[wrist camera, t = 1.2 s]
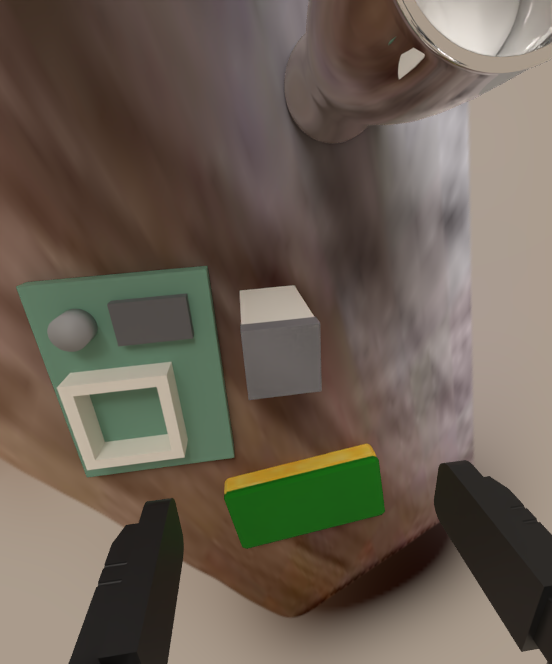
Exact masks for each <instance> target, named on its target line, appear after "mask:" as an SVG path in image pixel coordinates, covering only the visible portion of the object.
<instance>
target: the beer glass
mask: <svg viewBox="0 0 552 664" xmlns="http://www.w3.org/2000/svg"><path fill="white" fill-rule="evenodd" d="M551 59H552V0H309V1H308V8H307V19H306V33H305V34H304V35H303V36H302V37H301V38H300V39H299V41H298V42H297V44H296V45H295V47H294V49H293V51H292V53H291V55H290V57H289V60H288V63H287V66H286V71H285V79H284V91H285V98H286V103H287V106H288V109H289V112H290V114H291V116H292V118H293V120H294V121H295V123H296V124H297V126H298V127H299V128H300V129H301V130H302V131H303V132H304V133H305V134H306V135H308V136H309V137H311V138H313V139H315V140H317V141H320V142H323V143H330V144H335V143H342V142H345V141H348V140H350V139H352V138H354V137H356V136H357V135H359V134H360V133H361V132H363V131H364V130H365V129H366V128H367V127H368V126H369V125H393V124H402V123H409V122H414V121H418V120H421V119H424V118H427V117H430V116H433V115H437V114H440V113H442V112H445V111H447V110H450V109H452V108H454V107H456V106H459V105H461V104H463V103H465V102H468V101H470V100H472V99H474V98H476V97H478V96H480V95H482V94H483V93H485V92H487V91H489V90H491V89H493V88H495V87H497V86H499V85H501V84H503V83H504V82H506V81H508V80H510V79H512V78H513V77H515V76H517V75H519V74H521V73H522V72H524V71H526V70H528V69H530V68H533V67H535V66H538V65H540V64H543V63H545V62H547V61H549V60H551Z"/></svg>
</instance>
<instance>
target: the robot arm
mask: <svg viewBox="0 0 552 664" xmlns="http://www.w3.org/2000/svg"><path fill="white" fill-rule="evenodd" d="M434 506H435V511H436V514H437V517H438V519H439V521H440V523H441V524H442V526H443V527H444V529H445V531H446V532H447V534H448V536H449V537H450V539H451V540H452V542H453V543H454V545H455V547H456V548H457V550H458V552H459V553H460V555H461V556H462V558H463V559H464V561H465V563H466V564H467V566H468V567H469V569H470V571H471V572H472V574H473V575H474V577H475V579H476V580H477V582H478V583H479V585H480V587H481V588H482V590H483V591H484V593H485V594H486V596H487V598H488V599H489V601H490V602H491V604H492V606H493V607H494V609H495V610H496V612H497V613H498V615H499V617H500V618H501V620H502V622H503V623H504V625H505V626H506V628H507V629H508V631H509V633H510V634H511V636H512V637H513V639H514V641H515V642H516V644H517V645H518V647H519V649H520V650H521V651H522V652H523V651H528V650H534V649H540V651H541V652H542V654H543V655H544V657H545V658H546V660H547V664H552V535H551V534H550V533H549V531H547V529H546V528H545V527H544V526H543V525H542V524H541V523H540V522H537V519H536V518H535V517H534V516H533V514H532V513H531V512H530V511H529V510H528V509H527V508H526V509H525V508H524V505H523V504H522V503H521V502H520V500H519V499H518V498H517V497H516V496H515V495H514V494H513V493H512V492H511V491H510V490H509V489H508V488H506V487H505V486H503V485H502V484H500V483H499V482H497V481H496V480H494V479H493V478H491V477H490V476H488V477H483V476H482V475H481V474H480V473H479V472H478V470H477V469H476V468H475V467H474V466H473V465H472V464H471V463H470V462H469V461H466V460H464V461H456V462H449V463H442V464H440V466H439V469H438V476H437V483H436V490H435V496H434ZM183 551H184V544H183V534H182V529H181V525H180V521H179V516H178V512H177V508H176V503H175V500H174V499H173V498H170V499H162V500H155V501H147V502H146V503H145V505H144V507H143V510H142V514H141V517H140V520H139V523H137V524H130V525H126V526H125V527H124V528H123V530H122V531H121V533H120V534H119V535H118V537H117V538H116V539H115V541H114V542H113V543H112V545H111V548H110V551H109V553H108V556H107V559H106V562H105V567H104V569H103V570H102V573H101V576H100V578H99V581H98V587H96V590H95V592H94V595H93V598H92V601H91V603H90V606H89V609H88V612H87V614H86V617H85V620H84V623H83V626H82V628H81V631H80V634H79V637H78V639H77V642H76V645H75V648H74V651H73V654H72V656H71V659H70V661H69V664H167V663H168V656H169V649H170V642H171V636H172V629H173V622H174V615H175V609H176V602H177V595H178V589H179V581H180V574H181V568H182V562H183Z"/></svg>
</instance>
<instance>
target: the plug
mask: <svg viewBox="0 0 552 664" xmlns="http://www.w3.org/2000/svg"><path fill="white" fill-rule="evenodd" d="M240 309H241V325H240V328H241V339H242V347H243V356H244V364H245V373H246V381H247V390H248V398H249V400H253V399H261V398H270V397H278V396H286V395H294V394H302V393H310V392H319V391H322V390H321V342H320V322H319V321H318V319H317V318H316V317H314V315H313V314H312V312H311V311H310V309H309V308H308V306H307V305H306V303H305V301H304V300H303V298H302V297H301V295H300V294H299V292H298V291H297V289H296V287H295V286H294V285H293V286H282V287H272V288H262V289H252V290H241V291H240Z"/></svg>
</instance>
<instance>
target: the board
mask: <svg viewBox="0 0 552 664" xmlns="http://www.w3.org/2000/svg"><path fill="white" fill-rule="evenodd" d="M16 288H17V291H18V293H19V296H20V299H21V302H22V304H23V307H24V310H25V312H26V315H27V318H28V320H29V323H30V326H31V328H32V331H33V334H34V336H35V339H36V342H37V345H38V347H39V350H40V353H41V355H42V358H43V361H44V363H45V366H46V369H47V371H48V374H49V377H50V379H51V382H52V385H53V388H54V390H55V393H56V396H57V398H58V401H59V404H60V406H61V409H62V412H63V414H64V417H65V420H66V422H67V425H68V428H69V431H70V433H71V436H72V439H73V441H74V444H75V447H76V449H77V452H78V455H79V457H80V460H81V463H82V466H83V468H84V471H85V474H86V476H87V477H94V476H101V475H108V474H116V473H123V472H131V471H138V470H146V469H153V468H161V467H168V466H176V465H183V464H191V463H198V462H206V461H213V460H221V459H228V458H234V443H233V436H232V429H231V422H230V415H229V409H228V402H227V395H226V388H225V381H224V374H223V368H222V361H221V354H220V347H219V340H218V334H217V327H216V320H215V313H214V306H213V299H212V293H211V286H210V279H209V272H208V266H199V267H188V268H177V269H166V270H155V271H144V272H133V273H122V274H111V275H100V276H89V277H78V278H67V279H56V280H45V281H34V282H26V283H23V284H21V285H19V286H16Z"/></svg>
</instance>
